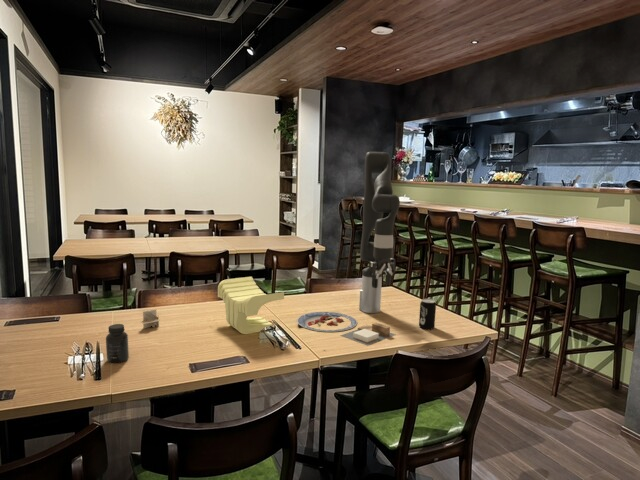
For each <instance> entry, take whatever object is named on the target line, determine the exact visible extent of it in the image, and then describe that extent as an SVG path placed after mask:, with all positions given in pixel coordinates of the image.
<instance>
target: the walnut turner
mask: <svg viewBox="0 0 640 480" xmlns="http://www.w3.org/2000/svg"><path fill="white" fill-rule="evenodd" d="M363 329H367V330H370V331H373V332H376V333H379V335H382V336H385V337H387V336H389V335H390V333H391V326H388V325H385V324H381V323H378V322H374V323H373V322H372V323H371V325H369V324H365V325H362V326H359V327H357V330H363Z"/></svg>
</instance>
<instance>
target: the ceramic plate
mask: <svg viewBox="0 0 640 480" xmlns="http://www.w3.org/2000/svg"><path fill="white" fill-rule="evenodd" d="M341 317H342V318H341ZM343 318H344V319H347V320H349V321H350V325H349V326H347V327H344V328H339V329H338V328H337V329H321V328H314V327H310V326H313V325H318V326H319V327H321V325H323V324H324V323H325V324H326V326H327V327H328V326H329V327H333V326H334V327H338V326H339V324H342V323H344V322H345V320H344V319H343ZM330 320H331V321H330ZM296 322H297V324H298V326H300V327H302V328H304V329H307V330H310V331H314V332H321V333H322V332H323V333H337V332H338V333H339V332H344V331H348V330H351V329H353V328H355V327H356V326H357V324H358V322H357V320H356V318H355V317H352V316H351V315H349V314H345V313H342V312H335V311H334V312H332V311H314V312H309V313H305V314H302V315H300V316H299V317H297V320H296Z"/></svg>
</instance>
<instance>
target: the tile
mask: <svg viewBox="0 0 640 480" xmlns="http://www.w3.org/2000/svg"><path fill="white" fill-rule="evenodd" d="M353 338H355V339H358V340H361V341H363V342H366V343H368V342H370V341H373V340H376V339H378V338H379V333H376V332H373V331H370V330H367V329H363V330H360V331H357V332H354V333H353Z"/></svg>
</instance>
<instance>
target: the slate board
mask: <svg viewBox="0 0 640 480" xmlns="http://www.w3.org/2000/svg"><path fill="white" fill-rule="evenodd" d="M357 331H360V330H358V329H355V330H352V331H349V332H345V333H343V334H341V335H340V337H343V338H346V339H348V340H351V341H354V342H356V343H359V344H361V345H364V346H367V347H368V346H370V345H374V344H376V343H379V342H380V341H384V340H386V339H389V338H391V337H394V336H396V335H397V334H396V333H393V332H390V335H389V336H387V337H385V336H382V335H379V338H378V339H376V340H373V341H370V342H368V343H366V342H363V341H361V340H358V339H355V338H353V333H354V332H357Z"/></svg>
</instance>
